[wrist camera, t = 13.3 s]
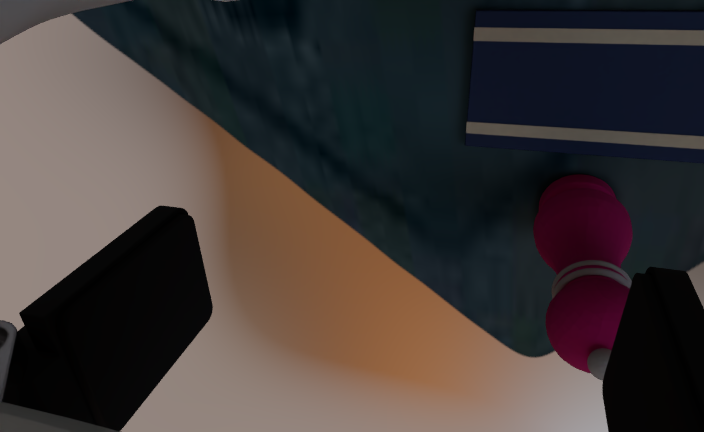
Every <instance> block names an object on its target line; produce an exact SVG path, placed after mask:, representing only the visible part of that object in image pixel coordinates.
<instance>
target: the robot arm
mask: <svg viewBox="0 0 704 432" xmlns="http://www.w3.org/2000/svg"><path fill="white" fill-rule="evenodd" d="M127 1H132V0H0V44H1V43H3V42H5V41H7V40H9V39H10V38H12V37H14V36H16V35H18V34H19V33H21V32H23V31H25V30H27V29H29V28H31V27H33V26H35V25H38V24H40V23H42V22H45V21H48V20H50V19H53V18H57V17H60V16H63V15H67V14H70V13H75V12H79V11H83V10H88V9H92V8H97V7H102V6H107V5H111V4H117V3H122V2H127ZM215 1H224V2H228V1H236V0H215ZM212 308H213V307H212V301H211V296H210V292H209V287H208V282H207V278H206V274H205V269H204V264H203V260H202V255H201V251H200V246H199V242H198V237H197V232H196V228H195V224H194V220H193V218H192V217H191V216H189V215H188V213H187V211H186V210H185V209H183V208H177V207H169V206H158V207H156V208H155V209H154V210H152V211H151V212H150V213H148V214H147V215H146V216H144V217H143V218H142V219H140V220H139V221H138V222H137V223H135V224H134V225H133V226H132V227H130V228H129V229H128V230H126V231H125V232H124V233H122V234H121V235H120V236H118V237H117V238H116V239H115V240H113V241H112V242H111V243H109V244H108V245H107V246H105V247H104V248H103V249H102V250H100V251H99V252H98V253H97V254H95V255H94V256H92V257H91V258H90V259H89V260H87V261H86V262H85V263H83V264H82V265H81V266H80V267H78V268H77V269H76V270H74V271H73V272H72V273H71V274H69V275H68V276H67V277H66V278H64V279H63V280H62V281H60V282H59V283H57V284H56V285H55V286H54V287H52V288H51V289H50V290H48V291H47V292H46V293H45V294H43V295H42V296H41V297H39V298H38V299H37V300H35V301H34V302H33V303H32V304H30V305H29V306H28V307H26V308H25V309H24V310H22V311H21V312H20V313H19V314H20V316H21V318H22V321H23V323H24V325H25V326H24V327H23V328H21V329H20V330H19V331H17V329H16V327H15V326H14V325H13V324H12V323H10V322H6V321H1V320H0V432H120V430H121V429H122V428H123V427H124V426H125V425H126V423H127V422H128V421H129V419H130V418H131V417H132V416H133V414H134V413H135V412H136V411H137V410H138V408H139V407H140V406H141V404H142V403H143V402H144V401H145V400H146V398H147V397H148V396H149V394H150V393H151V392H152V391H153V389H154V388H155V387H156V386H157V384H158V383H159V382H160V381H161V379H162V378H163V377H164V376H165V374H166V373H167V372H168V371H169V369H170V368H171V367H172V366H173V364H174V363H175V362H176V361H177V359H178V358H179V357H180V356H181V354H182V353H183V352H184V351H185V349H186V348H187V347H188V345H189V344H190V343H191V342H192V341H193V339H194V338H195V337H196V336H197V334H198V333H199V332H200V331H201V329H202V328H203V327H204V326H205V324H206V323H207V322H208V320H209V319H210V317H211V314H212ZM603 400H604V406H605V412H606V418H607V424H608V431H609V432H704V309H703V306H702V304H701V302H700V300H699V297H698V295H697V293H696V291H695V289H694V286H693V284H692V282H691V280H690V278H689V276H688V274H687V273H686V272H685V271H680V270H672V269H664V268H656V267H649V268H648V269H647V271H646V273H645V274H641V273H636V274H635V275H634V277H633V280H632V283H631V287H630V290H629V293H628V297H627V300H626V303H625V307H624V310H623V313H622V317H621V320H620V323H619V327H618V330H617V334H616V337H615V340H614V344H613V347H612V350H611V354H610V357H609V360H608V364H607V367H606V370H605V374H604V378H603Z"/></svg>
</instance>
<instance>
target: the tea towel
mask: <svg viewBox="0 0 704 432" xmlns="http://www.w3.org/2000/svg"><path fill="white" fill-rule="evenodd" d="M465 145H466V146H477V147H491V148H504V149H518V150H531V151H545V152H558V153H571V154H585V155H598V156H612V157H625V158H639V159H652V160H665V161H679V162H692V163H704V11H666V10H476V16H475V28H474V40H473V53H472V66H471V78H470V90H469V103H468V115H467V126H466V140H465Z"/></svg>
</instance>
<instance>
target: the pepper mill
mask: <svg viewBox="0 0 704 432" xmlns="http://www.w3.org/2000/svg"><path fill="white" fill-rule="evenodd" d="M533 230H534V238H535V243H536V247H537V249H538V251H539V253H540V255H541V256H542V258H543V260H544V261H545V262H546V263H547V264H548V265H549V266H550V267H551V268H552V269H553V270H554V271H555V272H556V274H557V276H556V278H555V279H554V282H553V285H552V301H551V302H550V304H549V307H548V310H547V313H546V329H547V335H548V337H549V340H550V343H551V345H552V346H553V348H554V349H555V351H556V352H557V353H558V355H559V356H560V357H561V358H562V359H563V360H564V361H566V362H567V363H569V364H570V365H571V366H573V367H575V368H577V369H579V370H582V371H585V372H587V373H591V374H593V376H595V377H596V378H598V379H600V380H603V378H604V374H605V370H606V367H607V364H608V360H609V357H610V354H611V350H612V347H613V344H614V340H615V337H616V334H617V330H618V327H619V323H620V320H621V317H622V313H623V310H624V307H625V303H626V300H627V297H628V293H629V290H630V287H631V283H632V281H631V279H630V278H629V276H628V275H627V273H626V272H625V271H623V270H622V269H621V263H622V261H623V260H624V258H625V257H626V255H627V254H628V251H629V248H630V245H631V241H632V234H633V233H632V226H631V220H630V217H629V214H628V212H627V211H626V209H625V207H624V206H623V205H622V204H621V203H620V202H619V201H618V200H617V199H616V196H615V194H614V192H613V190H612V189H611V187H610V186H609V185H608V184H607V183H605V182H604V181H602V180H601V179H598V178H596V177H594V176H590V175H583V174H576V175H569V176H565V177H562V178H560V179H558V180H556V181H554V182H553V183H552V184H550V185H549V186H548V187H547V188H546V190H545V191H544V192H543V194H542V196H541V198H540V201H539V212H538V214H537V216H536V218H535V222H534V227H533Z"/></svg>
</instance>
